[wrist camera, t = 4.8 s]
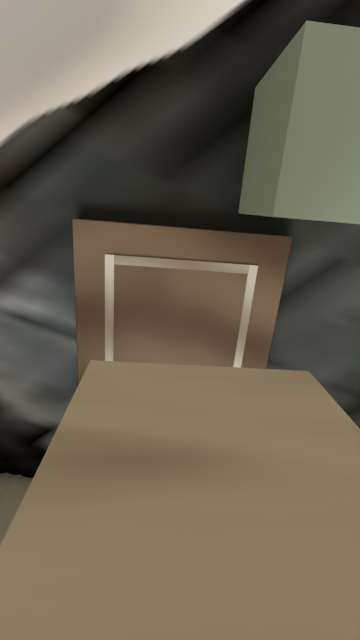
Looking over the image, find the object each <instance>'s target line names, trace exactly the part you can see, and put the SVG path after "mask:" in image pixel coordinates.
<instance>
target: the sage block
mask: <svg viewBox="0 0 360 640" xmlns="http://www.w3.org/2000/svg"><path fill="white" fill-rule="evenodd" d="M238 213H239V214H249V215H259V216H269V217H281V218H292V219H304V220H316V221H328V222H340V223H352V224H360V28H359V27H352V26H344V25H336V24H329V23H321V22H314V21H306V22H305V23H304V25H303V26H302V27H301V29H300V30H299V31H298V32H297V34H296V35H295V36H294V38H293V39H292V40H291V42H290V43H289V44H288V46H287V47H286V48H285V49H284V51H283V52H282V53H281V55H280V56H279V57H278V59H277V60H276V61H275V63H274V64H273V65H272V66H271V68H270V69H269V70H268V72H267V73H266V74H265V76H264V77H263V78H262V80H261V81H260V82H259V83H258V85H257V86H256V87H255V94H254V101H253V109H252V116H251V123H250V131H249V138H248V145H247V153H246V160H245V167H244V175H243V182H242V189H241V197H240V204H239V212H238Z"/></svg>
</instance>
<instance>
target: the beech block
mask: <svg viewBox="0 0 360 640" xmlns="http://www.w3.org/2000/svg"><path fill="white" fill-rule="evenodd" d="M0 640H360V428H359V427H358V426H357V425H356V424H355V423H354V422H353V421H352V419H351V418H350V417H349V416H348V415H347V414H346V413H345V411H344V410H343V409H342V408H341V407H340V406H339V405H338V404H337V402H336V401H335V400H334V399H333V398H332V397H331V396H330V395H329V393H328V392H327V391H326V390H325V389H324V388H323V387H322V385H321V384H320V383H319V382H318V381H317V380H316V379H315V378H314V376H313V375H312V374H311V373H310V372H309V371H296V370H277V369H257V368H237V367H218V366H198V365H178V364H159V363H139V362H119V361H100V360H90V362H89V364H88V366H87V368H86V370H85V372H84V375H83V377H82V379H81V381H80V383H79V385H78V387H77V389H76V391H75V393H74V395H73V397H72V399H71V401H70V403H69V405H68V408H67V410H66V412H65V414H64V416H63V418H62V420H61V422H60V424H59V426H58V428H57V430H56V432H55V434H54V436H53V438H52V441H51V443H50V445H49V447H48V449H47V451H46V453H45V455H44V457H43V459H42V461H41V463H40V465H39V467H38V469H37V471H36V474H35V476H34V478H33V480H32V482H31V484H30V486H29V488H28V490H27V492H26V494H25V496H24V498H23V500H22V502H21V504H20V507H19V509H18V511H17V513H16V515H15V517H14V519H13V521H12V523H11V525H10V527H9V529H8V531H7V533H6V535H5V537H4V540H3V542H2V544H1V546H0Z"/></svg>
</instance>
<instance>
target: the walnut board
mask: <svg viewBox="0 0 360 640" xmlns="http://www.w3.org/2000/svg"><path fill="white" fill-rule="evenodd" d="M72 223H73V250H74V276H75V303H76V329H77V356H78V383H80V381H81V379H82V377H83V375H84V372H85V370H86V368H87V366H88V364H89V362H90V360H100V361H119V362H139V363H159V364H178V365H198V366H218V367H237V368H257V369H266V367H267V362H268V357H269V352H270V347H271V342H272V337H273V332H274V328H275V323H276V318H277V313H278V308H279V303H280V298H281V293H282V288H283V283H284V278H285V273H286V268H287V263H288V258H289V253H290V248H291V243H292V238H293V237H290V236H284V235H272V234H260V233H248V232H236V231H223V230H211V229H199V228H187V227H175V226H163V225H150V224H138V223H126V222H114V221H102V220H90V219H72Z"/></svg>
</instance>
